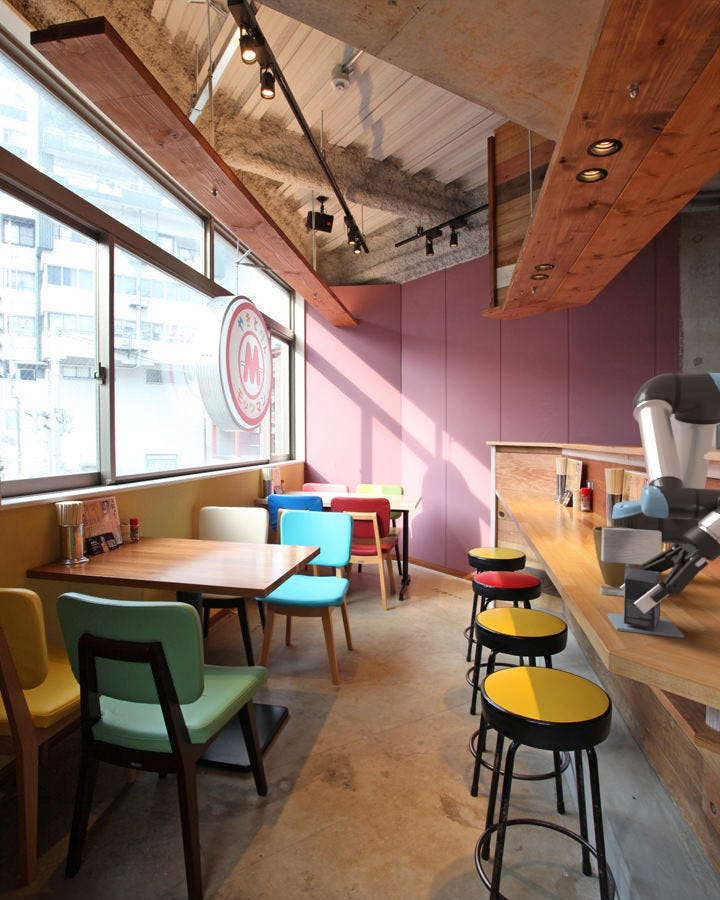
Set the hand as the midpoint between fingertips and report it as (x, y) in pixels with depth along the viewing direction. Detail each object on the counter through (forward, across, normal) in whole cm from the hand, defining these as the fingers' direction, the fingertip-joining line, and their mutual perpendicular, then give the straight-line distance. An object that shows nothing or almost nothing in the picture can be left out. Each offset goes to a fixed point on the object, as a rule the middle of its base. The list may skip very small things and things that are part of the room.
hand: (631, 599), depth 113 cm
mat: (+2, 0, -6) cm, 6 cm away
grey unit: (0, +25, -8) cm, 26 cm away
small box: (+2, 0, -5) cm, 5 cm away
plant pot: (0, +36, -8) cm, 37 cm away
